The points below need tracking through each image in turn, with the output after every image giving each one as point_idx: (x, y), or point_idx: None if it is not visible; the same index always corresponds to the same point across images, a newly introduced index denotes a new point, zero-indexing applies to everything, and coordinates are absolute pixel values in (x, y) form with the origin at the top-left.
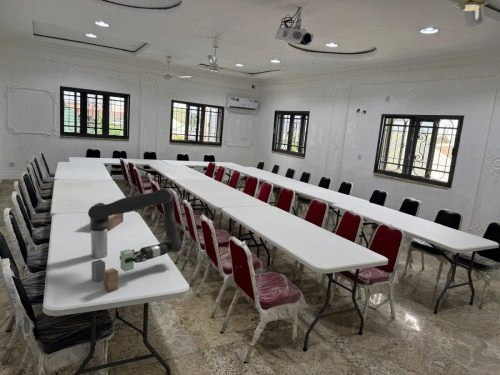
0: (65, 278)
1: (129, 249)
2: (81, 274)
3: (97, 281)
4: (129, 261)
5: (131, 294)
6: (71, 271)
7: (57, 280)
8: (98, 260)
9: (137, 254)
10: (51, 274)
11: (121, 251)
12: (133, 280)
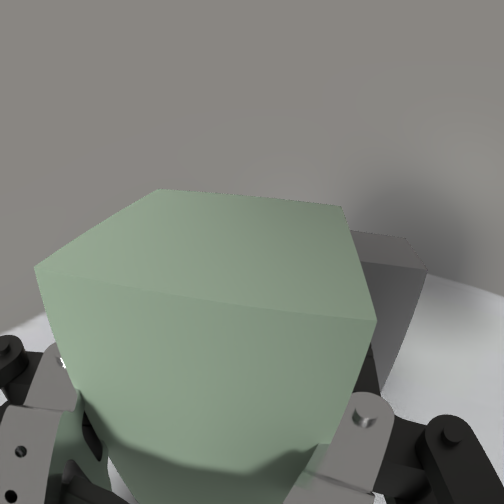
0: (435, 299)
1: (339, 316)
2: (455, 343)
3: None
4: None
5: (30, 340)
6: (496, 330)
7: (427, 284)
8: (412, 257)
9: (16, 476)
10: (483, 291)
11: (323, 207)
12: (113, 485)
